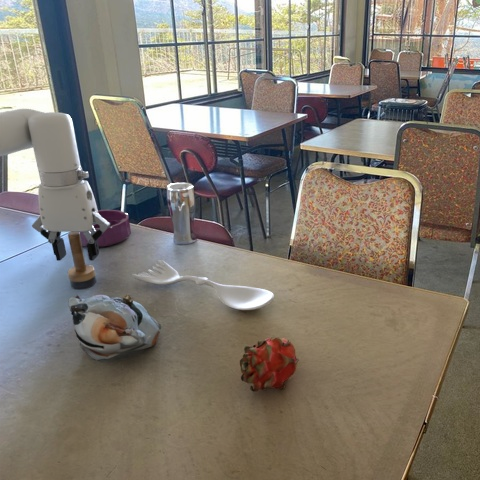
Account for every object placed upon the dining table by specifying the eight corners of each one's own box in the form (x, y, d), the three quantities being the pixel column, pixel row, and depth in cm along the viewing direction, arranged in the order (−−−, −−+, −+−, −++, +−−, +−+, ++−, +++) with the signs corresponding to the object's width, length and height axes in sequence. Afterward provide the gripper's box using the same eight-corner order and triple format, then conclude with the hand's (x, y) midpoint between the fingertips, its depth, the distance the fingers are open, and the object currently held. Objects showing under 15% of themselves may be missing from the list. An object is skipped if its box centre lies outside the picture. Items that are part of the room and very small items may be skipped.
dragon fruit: (240, 411, 74) (286, 377, 84) (278, 400, 69) (322, 366, 79) (217, 360, 74) (266, 332, 84) (254, 346, 69) (300, 319, 79)
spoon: (160, 269, 112) (158, 256, 111) (281, 300, 101) (281, 286, 99) (132, 286, 105) (130, 272, 103) (259, 322, 93) (259, 306, 92)
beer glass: (192, 246, 125) (187, 191, 119) (167, 244, 125) (160, 189, 119) (202, 236, 131) (198, 183, 125) (178, 234, 132) (172, 181, 126)
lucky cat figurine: (176, 333, 89) (163, 295, 78) (129, 388, 82) (107, 354, 71) (115, 295, 93) (94, 253, 82) (66, 344, 86) (35, 306, 75)
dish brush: (66, 289, 103) (54, 238, 98) (77, 277, 108) (67, 228, 103) (90, 289, 103) (80, 238, 98) (100, 278, 108) (91, 229, 103)
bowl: (63, 249, 121) (59, 229, 119) (86, 228, 134) (83, 209, 132) (120, 249, 122) (117, 229, 120) (138, 228, 135) (135, 209, 133)
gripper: (112, 172, 99) (124, 250, 107) (27, 171, 99) (45, 250, 106) (98, 182, 93) (112, 266, 100) (6, 182, 92) (27, 265, 99)
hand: (77, 257), depth 103 cm, fingers open, 6 cm apart
